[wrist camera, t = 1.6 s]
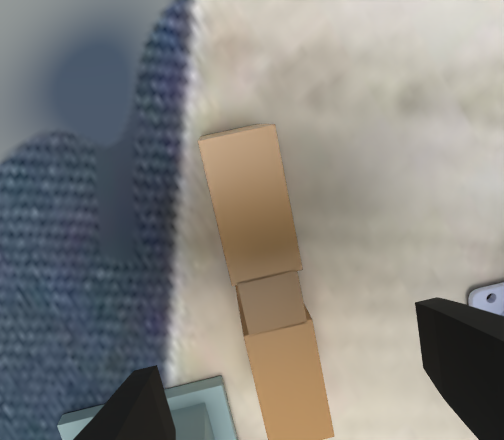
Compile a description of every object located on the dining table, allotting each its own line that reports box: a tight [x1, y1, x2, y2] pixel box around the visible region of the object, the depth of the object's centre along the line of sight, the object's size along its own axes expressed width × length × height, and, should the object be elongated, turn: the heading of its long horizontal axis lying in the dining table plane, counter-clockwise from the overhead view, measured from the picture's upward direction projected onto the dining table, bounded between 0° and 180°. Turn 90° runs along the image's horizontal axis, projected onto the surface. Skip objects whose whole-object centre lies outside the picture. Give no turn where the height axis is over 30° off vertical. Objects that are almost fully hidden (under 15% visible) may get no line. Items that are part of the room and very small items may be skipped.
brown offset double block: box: [198, 124, 334, 440], centre depth 18 cm, size 3×12×5 cm, turn 12°
